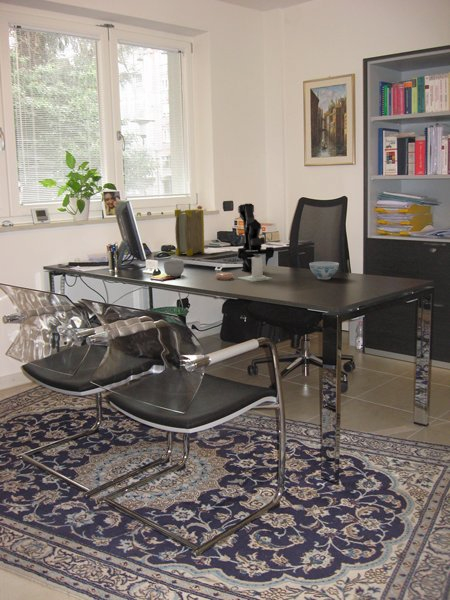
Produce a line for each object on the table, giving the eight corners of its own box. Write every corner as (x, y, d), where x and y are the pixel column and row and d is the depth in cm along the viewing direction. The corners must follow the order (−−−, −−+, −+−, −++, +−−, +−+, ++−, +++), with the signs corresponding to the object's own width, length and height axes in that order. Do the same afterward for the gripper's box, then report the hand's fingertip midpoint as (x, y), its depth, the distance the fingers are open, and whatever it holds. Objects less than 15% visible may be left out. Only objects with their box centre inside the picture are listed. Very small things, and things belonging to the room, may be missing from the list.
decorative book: (192, 251, 474) (191, 207, 468) (205, 252, 467) (204, 208, 461) (174, 255, 457) (173, 209, 451) (187, 256, 451) (186, 210, 445)
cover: (252, 276, 362) (251, 254, 360) (267, 276, 359) (267, 254, 357) (246, 278, 354) (246, 256, 352) (262, 279, 351) (262, 256, 349)
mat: (257, 276, 366) (257, 274, 366) (272, 279, 356) (272, 277, 356) (237, 278, 359) (237, 277, 359) (252, 281, 349) (252, 280, 349)
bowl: (226, 276, 366) (226, 271, 366) (236, 278, 359) (236, 274, 359) (212, 278, 362) (212, 273, 361) (222, 280, 354) (222, 275, 354)
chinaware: (304, 277, 359) (304, 262, 358) (329, 275, 364) (329, 260, 363) (318, 281, 345) (318, 266, 344) (344, 279, 351) (344, 264, 349)
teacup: (181, 277, 367) (180, 262, 365) (161, 277, 369) (160, 262, 367) (187, 273, 380) (187, 259, 379) (168, 273, 382) (168, 258, 381)
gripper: (237, 232, 355) (240, 256, 346) (273, 231, 357) (277, 255, 348) (236, 246, 364) (239, 269, 356) (271, 244, 366) (274, 268, 357)
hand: (257, 265), depth 354 cm, fingers open, 9 cm apart
